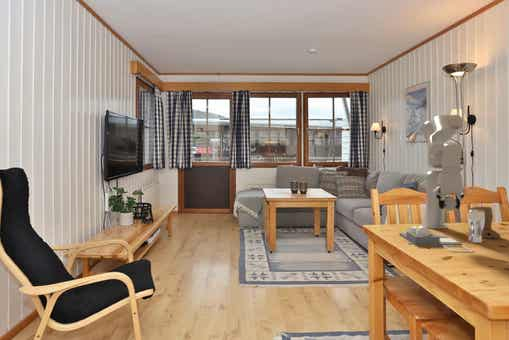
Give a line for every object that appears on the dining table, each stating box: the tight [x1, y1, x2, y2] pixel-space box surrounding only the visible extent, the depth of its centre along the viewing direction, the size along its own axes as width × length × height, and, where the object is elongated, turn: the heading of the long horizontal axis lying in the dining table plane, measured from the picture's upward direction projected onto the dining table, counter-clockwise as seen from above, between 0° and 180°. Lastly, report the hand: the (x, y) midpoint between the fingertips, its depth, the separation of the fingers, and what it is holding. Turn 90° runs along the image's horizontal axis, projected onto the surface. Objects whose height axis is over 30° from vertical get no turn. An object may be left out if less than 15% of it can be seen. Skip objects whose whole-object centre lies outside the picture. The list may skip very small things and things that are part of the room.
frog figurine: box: [443, 195, 457, 212], centre depth 176 cm, size 6×7×7 cm
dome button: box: [416, 225, 431, 236], centre depth 179 cm, size 6×6×6 cm
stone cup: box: [470, 206, 502, 239], centre depth 192 cm, size 15×12×15 cm
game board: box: [398, 225, 475, 253], centre depth 179 cm, size 31×21×5 cm
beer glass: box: [467, 209, 485, 244], centre depth 181 cm, size 7×7×15 cm
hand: (449, 208), depth 177 cm, fingers closed on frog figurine, 6 cm apart
